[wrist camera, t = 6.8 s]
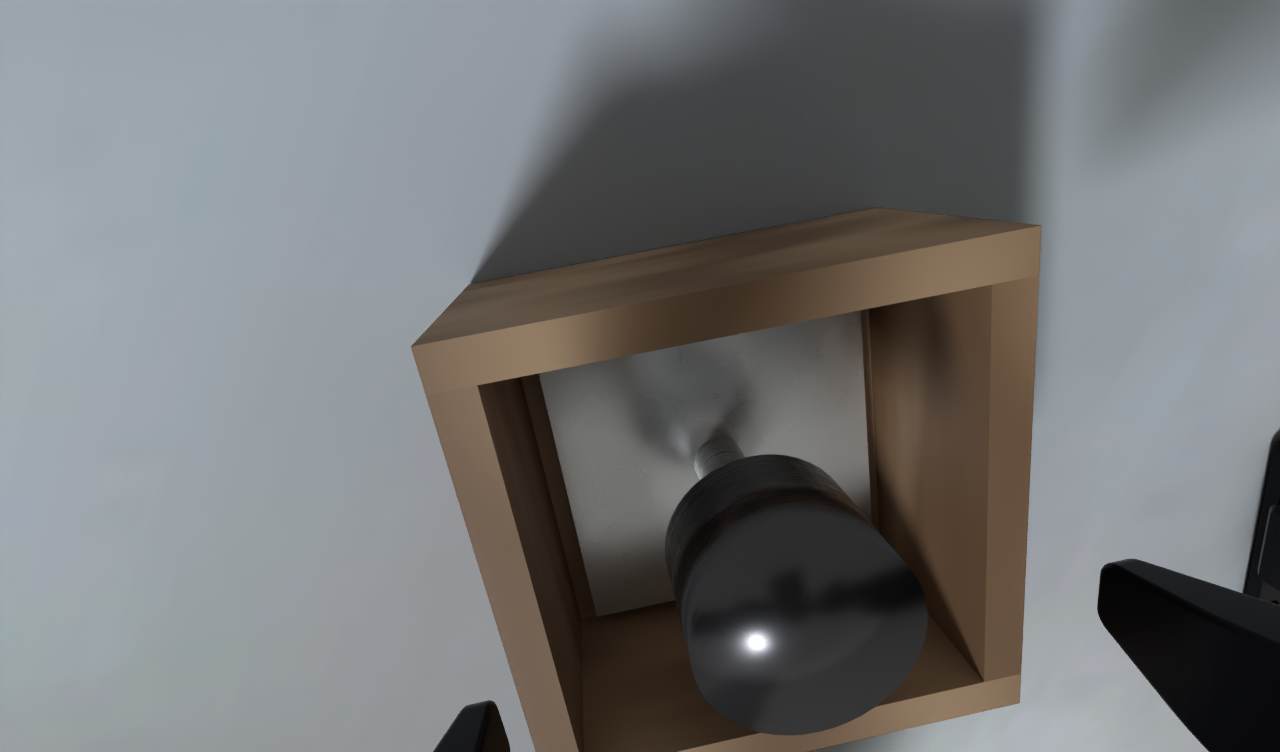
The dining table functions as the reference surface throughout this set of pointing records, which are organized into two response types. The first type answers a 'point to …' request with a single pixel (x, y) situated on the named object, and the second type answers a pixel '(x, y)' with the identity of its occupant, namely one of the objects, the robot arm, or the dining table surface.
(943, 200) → the dining table surface
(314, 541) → the dining table surface
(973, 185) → the dining table surface
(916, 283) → the wooden square tray
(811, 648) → the plunger
